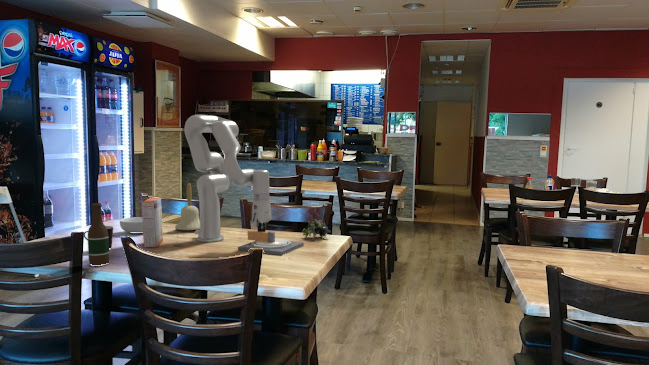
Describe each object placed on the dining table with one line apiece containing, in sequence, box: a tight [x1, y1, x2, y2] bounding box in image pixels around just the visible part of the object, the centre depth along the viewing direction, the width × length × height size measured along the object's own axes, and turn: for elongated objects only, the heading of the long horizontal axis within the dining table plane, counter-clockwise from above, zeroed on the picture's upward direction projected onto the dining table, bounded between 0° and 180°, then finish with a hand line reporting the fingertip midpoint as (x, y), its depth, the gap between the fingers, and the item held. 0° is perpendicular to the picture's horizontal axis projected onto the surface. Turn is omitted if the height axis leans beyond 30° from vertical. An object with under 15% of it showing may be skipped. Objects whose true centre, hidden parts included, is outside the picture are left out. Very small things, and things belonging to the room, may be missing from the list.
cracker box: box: [141, 197, 164, 248], centre depth 229 cm, size 14×6×21 cm, turn 6°
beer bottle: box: [87, 202, 110, 265], centre depth 193 cm, size 8×8×24 cm
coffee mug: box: [83, 225, 114, 248], centre depth 218 cm, size 12×9×10 cm
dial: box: [247, 230, 287, 247], centre depth 223 cm, size 19×14×5 cm
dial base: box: [237, 239, 305, 256], centre depth 222 cm, size 22×20×2 cm
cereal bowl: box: [119, 216, 143, 233], centre depth 257 cm, size 17×17×7 cm
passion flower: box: [301, 219, 332, 240], centre depth 243 cm, size 11×11×12 cm
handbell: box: [174, 183, 200, 231], centre depth 263 cm, size 15×15×25 cm
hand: (261, 236), depth 228 cm, fingers closed
